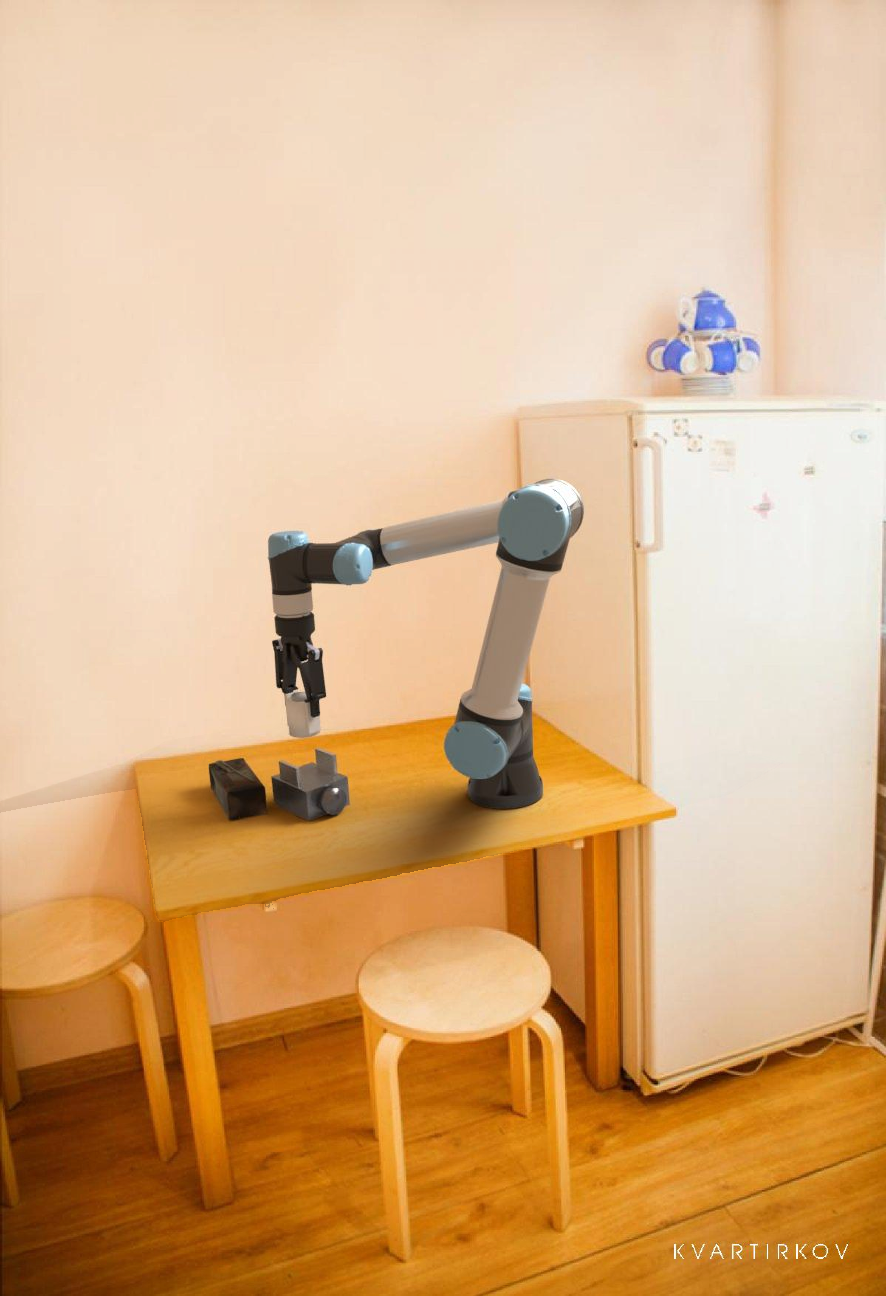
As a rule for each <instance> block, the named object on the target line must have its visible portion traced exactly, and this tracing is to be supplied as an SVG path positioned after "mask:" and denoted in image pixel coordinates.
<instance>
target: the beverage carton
mask: <svg viewBox="0 0 886 1296" xmlns="http://www.w3.org/2000/svg"><path fill="white" fill-rule="evenodd" d="M208 775H209V783H210V789H211V791H212V792H213V794H214V796H215V798H216V801H218V803H219V805H220V807H221V809H222V810H223V812H224V814H225V815H226V817H227V819H228V820H229V821H234V820H235V821H236V820H241V819H245V818H252V817H257V816H261V815H267V813H268V806H267V793H266V787H265V786H264V784H263V783H262V781H261V780H260V779H259V777H258V776H257V774H256V773H255V772H254V771H253V769H252V767H250V765H249V764H248V763H247V762H246V760H245V759H244V757H239V758H234V759H228V760H221V759H218V760H216V761H215V762H212V763H208Z"/></svg>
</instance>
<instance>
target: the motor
mask: <svg viewBox="0 0 886 1296" xmlns="http://www.w3.org/2000/svg"><path fill="white" fill-rule="evenodd" d="M314 752H315V762H312V761H311V762H309V763H305V764H303V765H299V766H298V765H294V764H292V763H290V762H287V761H285V760H282V759H281V760H279V761H278V767H279V773H278V774H274V775H272V776H271V777H270V778H271V788H272V796H273V804H274V805H275V806H277V807H278V808H281V809H282V810H285V811H287V812H289V813H291V814H294V815H295V816H298V817H299V818H301V819H304V820H306V821H307V822H310V821H313V820H315V819H317V818H321V817H322V816H325V815H331V816H335V815H338V814H340V813H342V811H343V810H344V808H345V807H347V806H350V803H351V802H350V791H349V777H348V776H347V775H345V774H342V773H339V772H338V761H337V754H336V753H333V752H330V751H327V750H325V749H323V748H320V747H316V748H314Z"/></svg>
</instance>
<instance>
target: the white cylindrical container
mask: <svg viewBox="0 0 886 1296" xmlns="http://www.w3.org/2000/svg"><path fill="white" fill-rule="evenodd" d="M306 699H307V697H306V693H305V691H297V693H294V694H292V695H291V696H290V697H288V698H287V712H288V724H289V726H288V734H289V736H290V737H292V738H297V739H299V738H301V739H304V738H311V737H314V736H317V735H319V734H320V732H321V730H320V731H317V732H314V733H311V734H308V733H307V725H306V713H305V702H304V700H306ZM288 724H287V725H288Z"/></svg>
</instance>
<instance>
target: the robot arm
mask: <svg viewBox="0 0 886 1296" xmlns="http://www.w3.org/2000/svg"><path fill="white" fill-rule="evenodd" d="M583 502H584V501H583V500H582V497H581V495H580V493H579V492H578V490H577V489H576V488H575V487H574V486H573V485H571V484H570V483H569V482H566V481H565V480H562V479H559V478H558V479H557V478H545V479H541V480H539V481H536V482H535V483H532V484H529V485H526V486H523V487H521V488H519V489H517V490H513V491H508V492H507V494H506V495H505V498H503V499H499V500H496V501H495V500H494V501H491V502H486V503H482V504H477V505H474V506H469V507H465V508H460V509H456V510H452V511H448V512H444V513H440V514H439V513H438V514H435V515H431V516H427V517H423V518H417V519H414V520H410V521H406V522H402V523H397V524H394V525H389V526H385V527H383V528H381V527H380V528H376V529H366V530H363V531H360V532H358V533H357V534H355V535H354V534H353V535H352V536H351V537H350V536H349V537H346V538H344V539H342V540H339V541H336V542H332V543H331V542H330V543H327V542H326V543H323V542H322V543H319V542H318V543H316V542H315V543H313V542H310V541H309V540H310V539H309V537H308V534H307V533H306V532H305V531H302V530H301V531H299V530H285V531H279V532H275V533H272V534H270V536H268V540H267V550H268V551H267V552H268V556H267V560H268V562H269V564H268V565H269V572H270V581H271V596H272V597H271V598H272V610H273V611H272V612H273V613H274V614H275V616H274V628H275V633H276V635H277V636H278V637H280V638H278V639H273V640H271V641H272V642H271V645H272V647H273V652H274V668H275V684H276V689H281V693H283V695H284V705H285V711H286V713H285V714H286V721H287V727H289V724H288V712H287V698H288V697H290V696H291V695H292V694H294V693H297V692H298V690H299V687H298V686H297V685H296V683H297V676H298V670H299V673H300V677H301V682H302V686H303V690H304V692H305V693H306V697H307V699H306V700H304V702H305V713H306V725H307V733H308V734H311V733H314V732H317V731H320V732H321V731H322V729H321V727H322V726H321V708H320V707H321V706H320V700H321V699H325V698H327V690H326V683H325V682H326V681H325V674H324V673H325V672H324V665H323V654H324V650H323V648H322V647H319V648H317V647H315V646H314V643H313V640H312V634H313V633H314V632H315V631H316V624H315V622H316V621H315V614H314V613H313V612H312V611H313V610H314V603H313V591H312V589H313V588H312V587H313V586H312V584H323V585H343V586H344V585H345V586H353V585H363V584H366V583H367V582H368V581H369V579H370V577H372V572H373V571H374V570H379V569H382V568H383V569H384V568H386V567H387V568H388V567H391V566H394V565H399V564H400V565H401V564H403V563H404V564H405V563H409V562H413V561H417V560H423V559H428V558H432V557H437V556H440V555H446V554H450V553H456V552H460V551H465V550H469V549H474V548H478V547H484V546H487V545H493V544H497V547H496V552H495V558H496V559H498V562H499V563H500V565H501V568H500V572H499V577H498V581H497V584H496V589H495V592H494V596H493V600H492V604H491V609H490V612H489V617H488V621H487V624H486V625H487V626H486V629H485V633H484V637H483V641H482V645H481V649H480V653H479V658H478V661H477V666H476V668H475V669H476V670H475V674H474V678H473V682H472V685H471V688H470V689H468V690H467V691H465V692H463V693H462V694H461V696H460V699H459V703H458V707H457V711H456V715H455V719H454V723H453V725H452V726H450V728H449V729H448V730H447V732H446V735H445V738H444V741H443V750H444V751H443V752H444V754H445V756H446V759H447V760H448V761H449V764H450V765H451V766H452V768H453V769H454V771H456V772H458V773H459V774H460V775H463V776H465V777H467V778H469V779H468V782H467V797H468V798H469V800H470V801H472V803H475V804H476V805H479V806H482V807H486V808H491V809H501V810H503V809H516V808H517V809H518V808H521V807H526V806H529V805H532V804H534V803H536V802H538V801H539V800H540V799H542V797H543V796H544V782H543V779H542V777H541V776H540V772H539V769H538V766H537V763H536V760H535V758H534V733H533V732H534V731H533V702H534V701H533V697H532V690H531V688H530V686H528V685H527V684H525V683H523V682H524V676H525V674H526V669H527V667H528V662H529V658H530V654H531V651H532V647H533V644H534V639H535V635H536V632H537V628H538V624H539V620H540V616H541V613H542V609H543V606H544V602H545V598H546V594H547V590H548V587H549V583H550V579H551V578H552V577H553V576H555V575H556V574H557V575H558V574H559V573H560V572H561V571H562V568H563V564H564V561H565V558H566V554H567V550H568V547H569V543H570V539H571V538H573V537H574V535H575V534H576V533H578V531H579V529H580V528H581V525H582V524H583V520H584V513H585V510H584V509H585V506H584V503H583Z"/></svg>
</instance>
